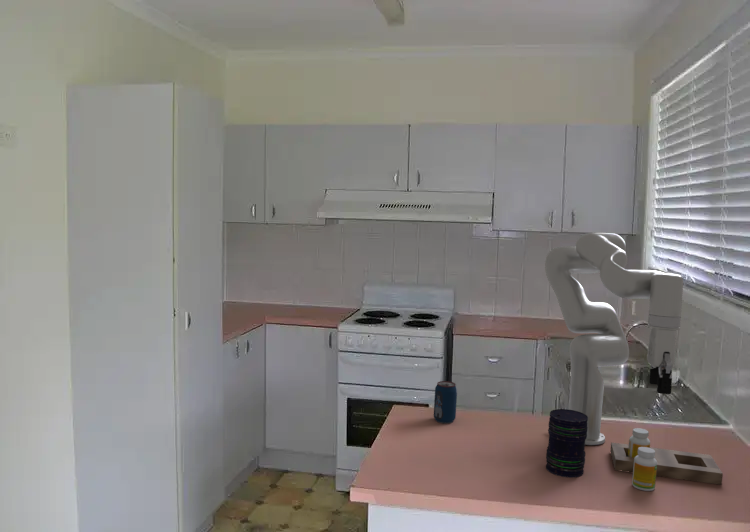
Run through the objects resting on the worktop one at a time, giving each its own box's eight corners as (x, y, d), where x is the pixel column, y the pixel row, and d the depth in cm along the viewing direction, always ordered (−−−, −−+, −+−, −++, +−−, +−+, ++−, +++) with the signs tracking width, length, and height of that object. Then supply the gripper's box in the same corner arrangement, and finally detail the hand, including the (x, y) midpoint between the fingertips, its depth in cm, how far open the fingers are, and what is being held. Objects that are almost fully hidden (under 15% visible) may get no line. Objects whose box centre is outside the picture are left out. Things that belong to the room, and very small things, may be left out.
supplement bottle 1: (622, 461, 184) (625, 427, 183) (638, 459, 186) (641, 426, 185) (636, 469, 179) (639, 434, 178) (652, 467, 181) (655, 433, 180)
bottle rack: (614, 470, 177) (615, 459, 177) (610, 452, 190) (611, 442, 190) (721, 484, 171) (722, 473, 171) (709, 465, 184) (710, 455, 183)
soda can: (456, 418, 214) (458, 381, 212) (454, 425, 207) (456, 387, 206) (435, 415, 215) (437, 379, 214) (431, 422, 208) (433, 385, 207)
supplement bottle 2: (656, 492, 165) (660, 454, 164) (633, 490, 166) (637, 452, 165) (652, 483, 170) (655, 447, 169) (630, 481, 171) (633, 444, 170)
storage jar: (573, 461, 182) (577, 408, 180) (591, 477, 172) (595, 421, 171) (539, 462, 180) (543, 409, 179) (554, 478, 171) (559, 421, 169)
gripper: (642, 316, 178) (638, 379, 179) (655, 326, 161) (650, 396, 162) (672, 318, 176) (668, 382, 178) (688, 328, 160) (683, 398, 161)
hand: (659, 388), depth 170 cm, fingers open, 9 cm apart
